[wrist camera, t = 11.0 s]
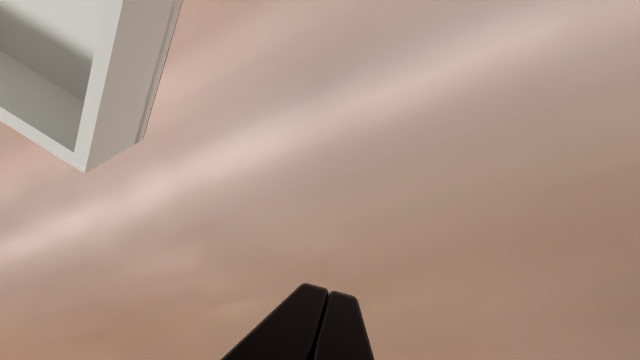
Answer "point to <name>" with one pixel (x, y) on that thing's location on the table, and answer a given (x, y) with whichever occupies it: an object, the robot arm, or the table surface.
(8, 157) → the table surface
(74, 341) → the table surface
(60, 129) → the carton
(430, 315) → the table surface
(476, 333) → the table surface
